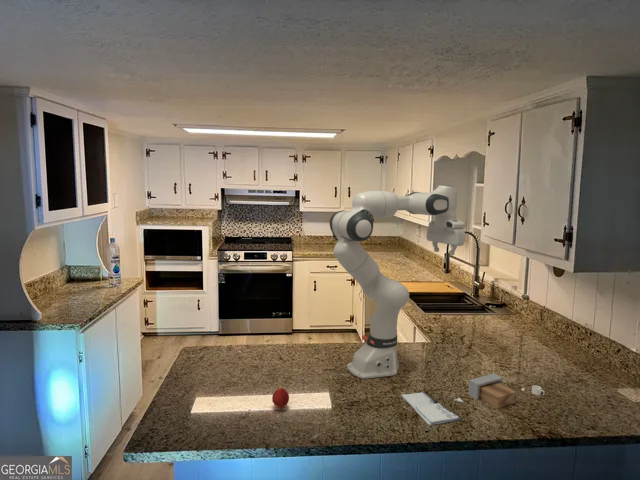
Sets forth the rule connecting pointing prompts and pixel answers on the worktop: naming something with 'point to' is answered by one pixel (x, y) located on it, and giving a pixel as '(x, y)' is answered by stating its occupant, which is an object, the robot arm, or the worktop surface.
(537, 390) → the white ring-shaped piece
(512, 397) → the wood grain block
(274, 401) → the onion
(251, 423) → the worktop surface
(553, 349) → the worktop surface
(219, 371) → the worktop surface
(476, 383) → the tunnel
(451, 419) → the bicycle print towel
